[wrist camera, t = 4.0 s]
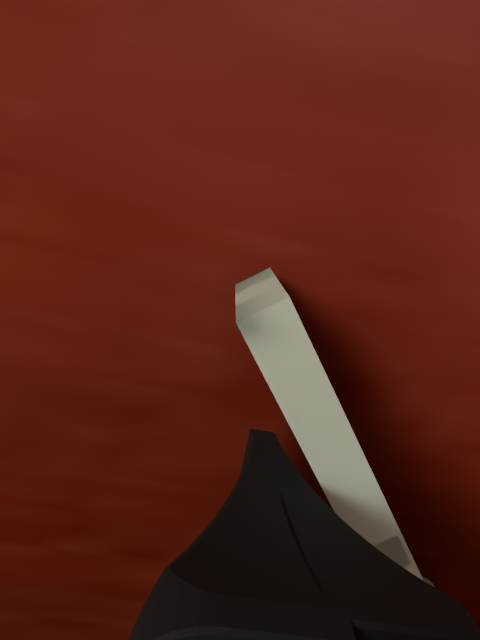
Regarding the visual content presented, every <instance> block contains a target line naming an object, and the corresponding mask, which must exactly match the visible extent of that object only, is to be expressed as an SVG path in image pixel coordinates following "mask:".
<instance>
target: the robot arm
mask: <svg viewBox="0 0 480 640" xmlns="http://www.w3.org/2000/svg"><path fill="white" fill-rule="evenodd" d="M129 640H480V630H479V629H478V627H477V625H476V624H475V622H474V620H473V619H472V617H471V615H470V614H469V612H468V611H467V609H466V608H465V606H464V605H463V604H461V603H460V602H458V601H456V600H455V599H453V598H451V597H450V596H448V595H446V594H445V593H443V592H441V591H440V590H438V589H436V588H435V587H433V586H431V585H430V584H428V583H426V582H425V581H423V580H421V579H420V578H418V577H417V576H415V575H413V574H412V573H411V572H409V571H408V570H406V569H405V568H403V567H402V566H400V565H399V564H397V563H396V562H395V561H393V560H392V559H390V558H389V557H388V556H386V555H385V554H384V553H382V552H381V551H380V550H378V549H377V548H376V547H374V546H373V545H372V544H371V543H369V542H368V541H367V540H366V539H364V538H363V537H362V536H361V535H360V534H358V533H357V532H356V531H355V530H354V529H352V528H351V527H350V526H349V525H348V524H347V523H346V522H344V521H343V520H342V519H341V518H340V517H339V516H338V515H337V514H336V513H335V512H334V511H333V510H332V509H331V508H330V507H329V506H328V505H327V504H326V503H325V502H324V501H323V500H322V499H321V498H320V497H319V496H318V494H317V493H316V492H315V491H314V490H313V489H312V488H311V486H310V485H309V484H308V483H307V482H306V481H305V479H304V478H303V477H302V476H301V474H300V473H299V472H298V471H297V469H296V468H295V467H294V465H293V464H292V463H291V461H290V460H289V458H288V457H287V456H286V454H285V453H284V451H283V450H282V448H281V447H280V443H279V441H278V439H277V437H276V435H275V433H273V432H267V431H260V430H254V429H250V433H249V438H248V442H247V447H246V452H245V457H244V461H243V466H242V471H241V474H240V476H239V479H238V481H237V483H236V485H235V487H234V488H233V490H232V492H231V494H230V495H229V497H228V499H227V500H226V502H225V503H224V505H223V506H222V508H221V509H220V511H219V512H218V513H217V515H216V516H215V518H214V519H213V520H212V521H211V523H210V524H209V525H208V526H207V528H206V529H205V530H204V531H203V532H202V533H201V534H200V535H199V536H198V538H197V539H196V540H195V541H194V542H193V543H192V544H191V545H190V546H189V547H188V548H187V549H186V550H185V551H184V552H183V553H182V554H181V555H179V556H178V557H177V558H176V559H175V560H174V561H173V562H172V563H170V564H169V565H168V566H167V567H166V568H165V569H164V571H163V573H162V574H161V576H160V578H159V579H158V581H157V583H156V585H155V586H154V588H153V590H152V592H151V593H150V595H149V597H148V599H147V601H146V603H145V605H144V606H143V609H142V611H141V613H140V615H139V617H138V619H137V621H136V623H135V625H134V628H133V630H132V633H131V635H130V638H129Z"/></svg>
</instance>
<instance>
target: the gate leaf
mask: <svg viewBox="0 0 480 640" xmlns="http://www.w3.org/2000/svg"><path fill="white" fill-rule="evenodd" d="M235 301H236V324H237V326H238V328H239V330H240V331H241V333H242V335H243V337H244V339H245V341H246V343H247V345H248V347H249V349H250V351H251V353H252V355H253V356H254V358H255V360H256V362H257V364H258V366H259V368H260V370H261V372H262V374H263V376H264V378H265V380H266V381H267V383H268V385H269V387H270V389H271V391H272V393H273V395H274V397H275V399H276V401H277V403H278V405H279V406H280V408H281V410H282V412H283V414H284V416H285V418H286V420H287V422H288V424H289V426H290V428H291V429H292V431H293V433H294V435H295V437H296V439H297V441H298V443H299V445H300V447H301V449H302V451H303V453H304V454H305V456H306V458H307V460H308V462H309V464H310V466H311V468H312V470H313V472H314V474H315V476H316V478H317V479H318V481H319V483H320V485H321V487H322V489H323V491H324V493H325V495H326V497H327V499H328V501H329V503H330V504H331V506H332V508H333V510H334V512H335V513H336V514H337V515H338V516H339V517H340V518H341V519H342V520H343V521H344V522H346V523H347V524H348V525H349V526H350V527H351V528H352V529H354V530H355V531H356V532H357V533H358V534H360V535H361V536H362V537H363V538H364V539H366V540H367V541H368V542H369V543H371V544H372V545H373V546H374V547H376V548H377V549H378V550H380V551H381V552H382V553H384V554H385V555H386V556H388V557H389V558H390V559H392V560H393V561H395V562H396V563H397V564H399V565H400V566H402V567H403V568H405V569H406V570H408V571H409V572H411V573H412V574H413V575H415V576H417V577H418V578H420V579H421V580H423V578H422V576H421V574H420V572H419V570H418V568H417V565H416V563H415V561H414V559H413V557H412V555H411V553H410V551H409V548H408V546H407V544H406V542H405V540H404V538H403V536H402V534H401V531H400V529H399V527H398V525H397V523H396V521H395V519H394V517H393V515H392V512H391V510H390V508H389V506H388V504H387V502H386V500H385V498H384V495H383V493H382V491H381V489H380V487H379V485H378V483H377V481H376V479H375V476H374V474H373V472H372V470H371V468H370V466H369V464H368V462H367V459H366V457H365V455H364V453H363V451H362V449H361V447H360V445H359V443H358V440H357V438H356V436H355V434H354V432H353V430H352V428H351V426H350V423H349V421H348V419H347V417H346V415H345V413H344V411H343V409H342V407H341V404H340V402H339V400H338V398H337V396H336V394H335V392H334V390H333V387H332V385H331V383H330V381H329V379H328V377H327V375H326V373H325V371H324V368H323V366H322V364H321V362H320V360H319V358H318V356H317V354H316V351H315V349H314V347H313V345H312V343H311V341H310V339H309V337H308V335H307V332H306V330H305V328H304V326H303V324H302V322H301V320H300V318H299V315H298V313H297V311H296V309H295V307H294V305H293V303H292V301H291V299H290V296H289V295H288V294H287V292H286V291H285V289H284V288H283V286H282V285H281V283H280V282H279V280H278V279H277V278H276V276H275V275H274V273H273V272H272V270H271V269H270V268H268V269H266V270H264V271H262V272H260V273H258V274H256V275H254V276H252V277H250V278H248V279H246V280H244V281H242V282H240V283H238V284H236V285H235ZM423 581H424V580H423Z"/></svg>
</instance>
